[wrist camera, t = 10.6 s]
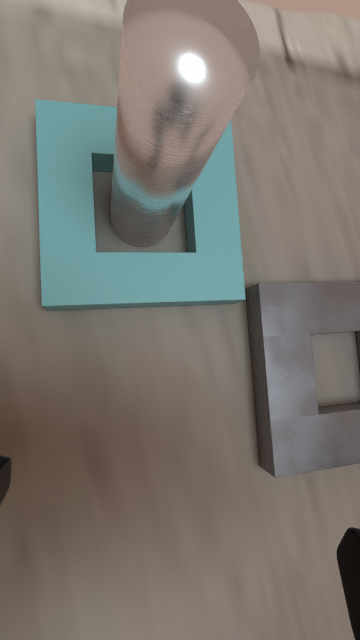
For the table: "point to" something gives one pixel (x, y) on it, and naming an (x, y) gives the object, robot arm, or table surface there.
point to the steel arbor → (174, 105)
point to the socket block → (300, 375)
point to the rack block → (127, 267)
